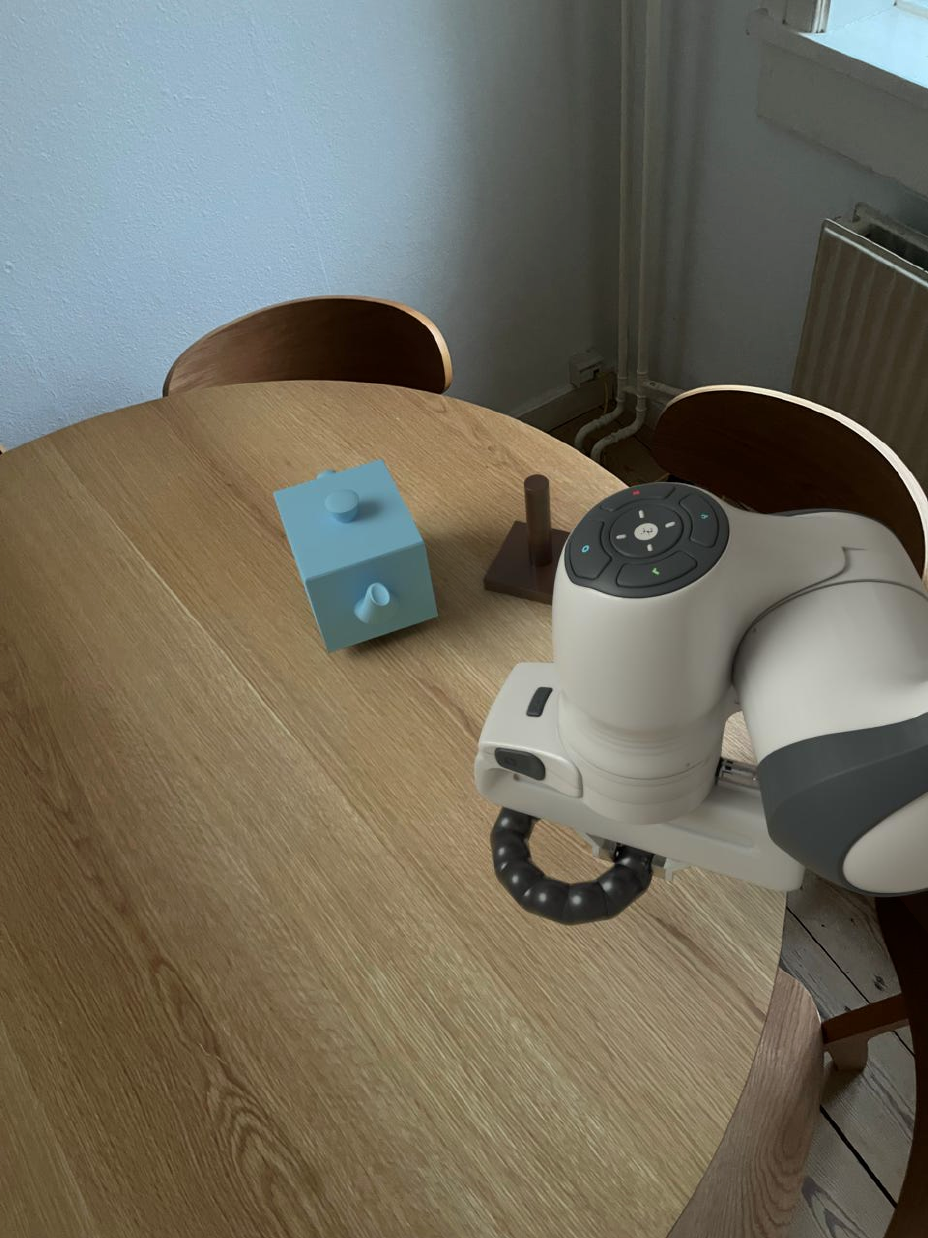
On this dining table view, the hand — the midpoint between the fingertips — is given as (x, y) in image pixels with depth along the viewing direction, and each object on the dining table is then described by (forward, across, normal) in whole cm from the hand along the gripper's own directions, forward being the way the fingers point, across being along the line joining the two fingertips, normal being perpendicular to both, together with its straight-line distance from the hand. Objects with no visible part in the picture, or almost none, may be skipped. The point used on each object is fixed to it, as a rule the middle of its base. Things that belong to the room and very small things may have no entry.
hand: (635, 860), depth 64 cm
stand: (+12, +20, -34) cm, 41 cm away
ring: (0, +4, 0) cm, 4 cm away
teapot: (+12, +34, -23) cm, 43 cm away
